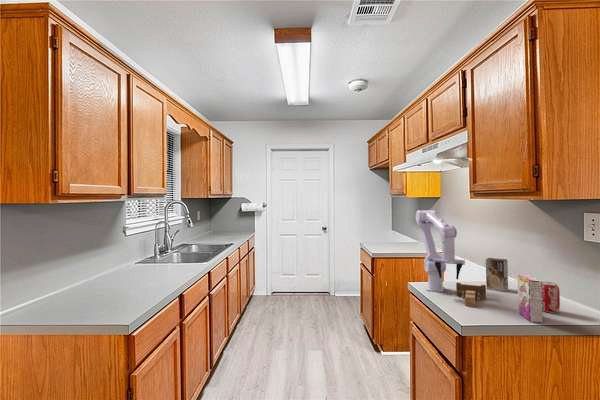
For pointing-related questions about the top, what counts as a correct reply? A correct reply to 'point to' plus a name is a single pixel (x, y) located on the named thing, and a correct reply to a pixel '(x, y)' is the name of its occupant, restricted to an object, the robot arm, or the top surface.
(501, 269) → the coffee box
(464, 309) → the top surface
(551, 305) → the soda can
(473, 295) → the tan wooden bar
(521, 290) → the candy bar box
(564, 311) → the top surface
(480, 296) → the wooden base
